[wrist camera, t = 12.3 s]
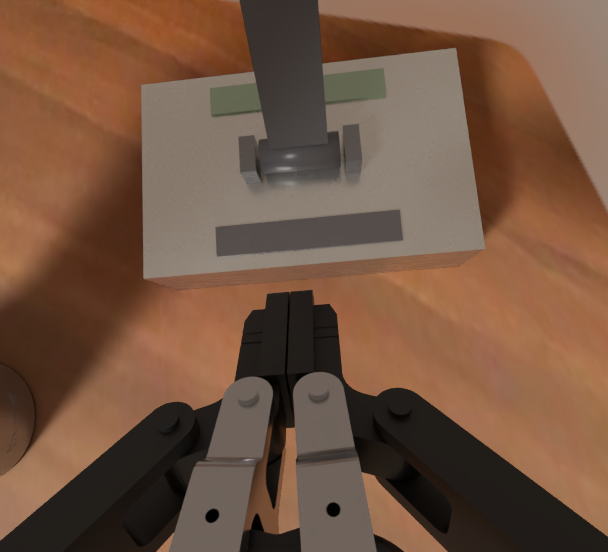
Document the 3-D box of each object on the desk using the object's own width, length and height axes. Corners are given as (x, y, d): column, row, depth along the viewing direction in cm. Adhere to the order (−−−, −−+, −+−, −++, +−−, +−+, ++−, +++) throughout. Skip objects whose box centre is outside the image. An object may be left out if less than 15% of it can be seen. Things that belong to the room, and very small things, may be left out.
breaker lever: (264, 181, 28) (192, -133, 16) (265, 160, 30) (199, -144, 18) (341, 173, 28) (326, -153, 16) (338, 152, 29) (322, -163, 17)
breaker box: (176, 290, 35) (129, 273, 27) (172, 126, 37) (127, 67, 29) (459, 266, 33) (496, 241, 25) (436, 97, 35) (464, 26, 28)
